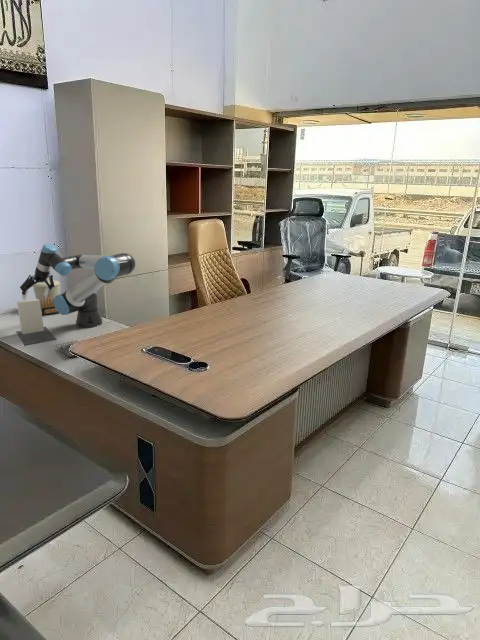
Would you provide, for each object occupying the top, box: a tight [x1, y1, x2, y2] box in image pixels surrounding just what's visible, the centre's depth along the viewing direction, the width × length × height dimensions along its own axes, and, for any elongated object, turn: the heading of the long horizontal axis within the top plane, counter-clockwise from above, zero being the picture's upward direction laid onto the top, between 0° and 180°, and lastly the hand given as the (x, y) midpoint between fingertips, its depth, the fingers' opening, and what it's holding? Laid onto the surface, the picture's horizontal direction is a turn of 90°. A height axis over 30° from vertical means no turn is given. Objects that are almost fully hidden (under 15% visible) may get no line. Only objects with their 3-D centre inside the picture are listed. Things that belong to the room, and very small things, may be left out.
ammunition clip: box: [41, 296, 61, 317], centre depth 282 cm, size 11×2×12 cm, turn 121°
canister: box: [31, 277, 62, 305], centre depth 296 cm, size 18×18×21 cm
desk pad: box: [15, 326, 57, 347], centre depth 243 cm, size 26×16×1 cm, turn 35°
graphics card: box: [53, 340, 79, 358], centre depth 219 cm, size 17×4×12 cm
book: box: [16, 298, 45, 334], centre depth 246 cm, size 4×11×18 cm, turn 125°
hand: (34, 297), depth 260 cm, fingers open, 13 cm apart
